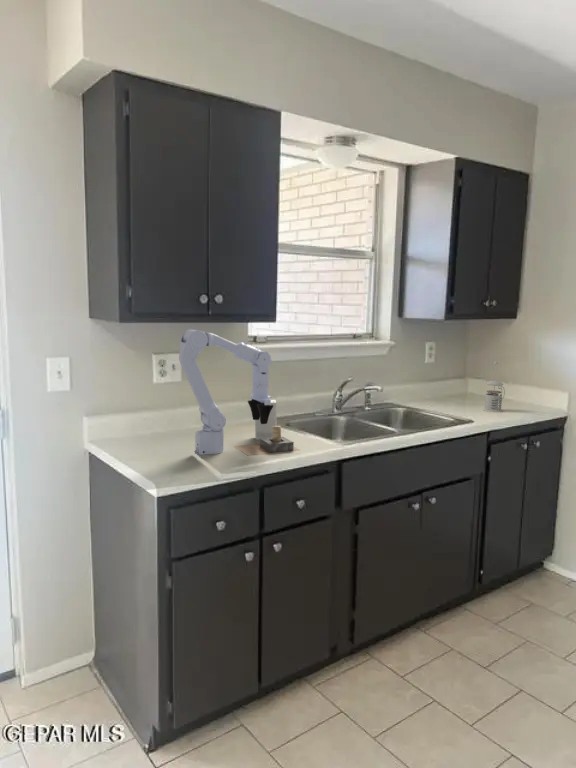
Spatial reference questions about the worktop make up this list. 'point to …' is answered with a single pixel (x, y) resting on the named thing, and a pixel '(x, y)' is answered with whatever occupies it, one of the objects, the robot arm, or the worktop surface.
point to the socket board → (255, 449)
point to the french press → (494, 397)
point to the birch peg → (276, 434)
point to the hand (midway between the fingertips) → (259, 421)
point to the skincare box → (266, 425)
